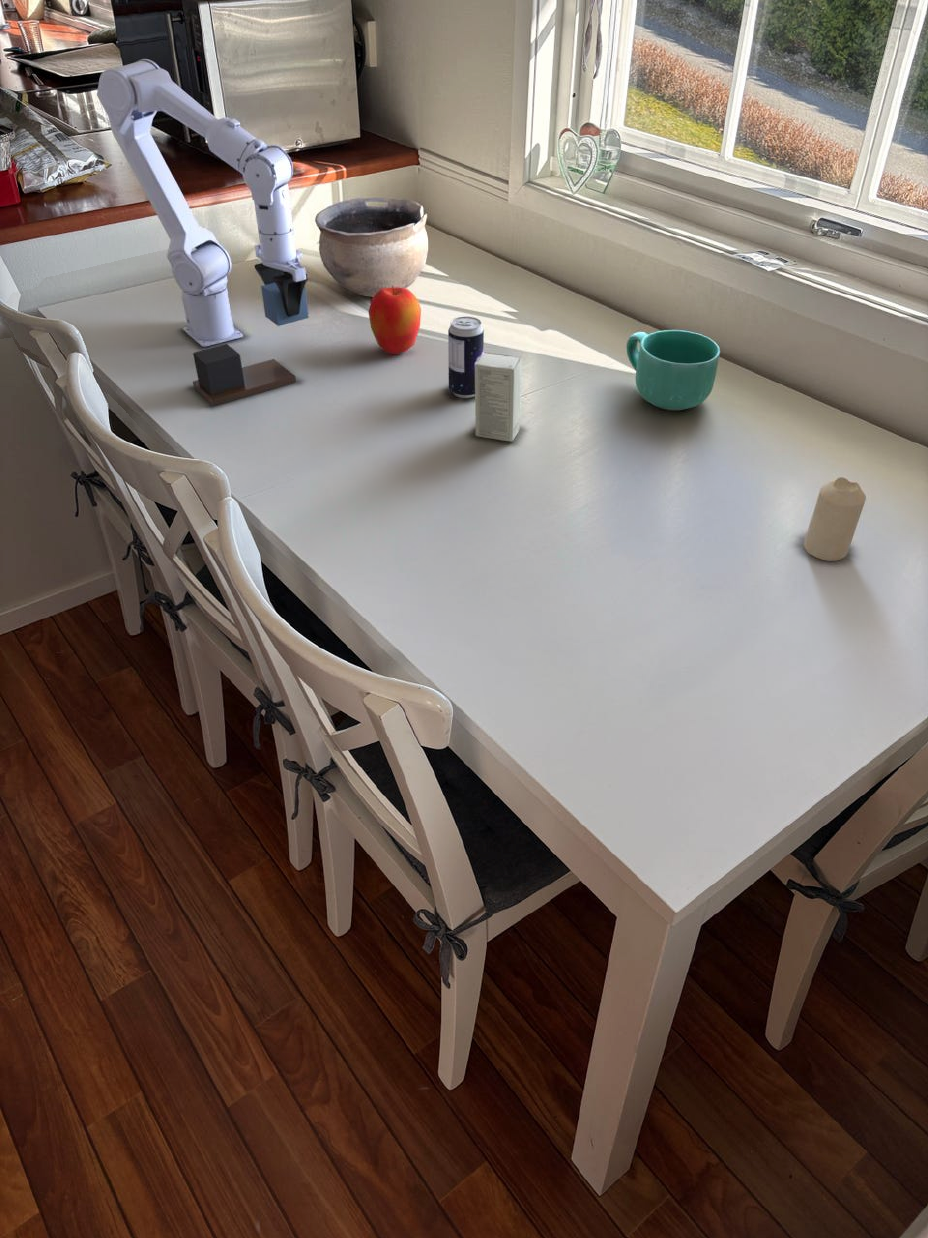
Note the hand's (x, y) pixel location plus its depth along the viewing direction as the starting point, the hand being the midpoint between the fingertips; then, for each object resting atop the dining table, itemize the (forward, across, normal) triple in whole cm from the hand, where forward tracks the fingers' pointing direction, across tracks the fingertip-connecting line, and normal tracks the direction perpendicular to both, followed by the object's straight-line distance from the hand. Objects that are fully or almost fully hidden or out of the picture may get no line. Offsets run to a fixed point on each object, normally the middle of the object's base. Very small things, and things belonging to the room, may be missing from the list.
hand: (285, 309), depth 161 cm
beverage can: (+8, -32, -16) cm, 36 cm away
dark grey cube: (+6, -8, +17) cm, 19 cm away
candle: (+8, -95, -28) cm, 99 cm away
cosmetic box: (+8, -46, -12) cm, 48 cm away
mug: (+8, -52, -42) cm, 67 cm away
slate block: (+1, 0, 0) cm, 1 cm away
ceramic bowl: (+8, +15, -28) cm, 32 cm away
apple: (+8, -12, -15) cm, 21 cm away
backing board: (+7, -8, +13) cm, 17 cm away
